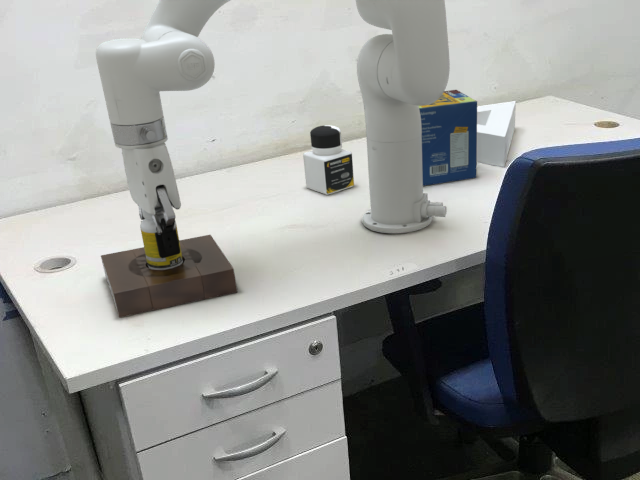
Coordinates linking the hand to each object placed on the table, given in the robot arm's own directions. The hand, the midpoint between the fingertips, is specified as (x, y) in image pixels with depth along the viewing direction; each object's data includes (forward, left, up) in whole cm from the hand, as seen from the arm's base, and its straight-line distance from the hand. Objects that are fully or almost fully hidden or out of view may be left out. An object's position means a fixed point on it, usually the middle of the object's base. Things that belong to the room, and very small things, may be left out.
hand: (162, 248), depth 130 cm
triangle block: (-33, -85, -6) cm, 91 cm away
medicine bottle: (-9, -49, -6) cm, 50 cm away
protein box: (-28, -59, -6) cm, 66 cm away
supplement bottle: (0, 0, -3) cm, 3 cm away
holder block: (0, 0, -6) cm, 6 cm away
